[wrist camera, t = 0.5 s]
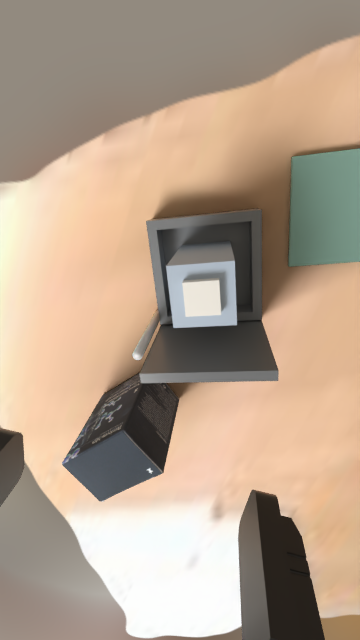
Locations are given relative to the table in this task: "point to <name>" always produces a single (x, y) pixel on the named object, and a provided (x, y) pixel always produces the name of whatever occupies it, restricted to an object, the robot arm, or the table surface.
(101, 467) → the box
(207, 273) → the module
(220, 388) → the table surface
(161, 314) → the case
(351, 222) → the pad
